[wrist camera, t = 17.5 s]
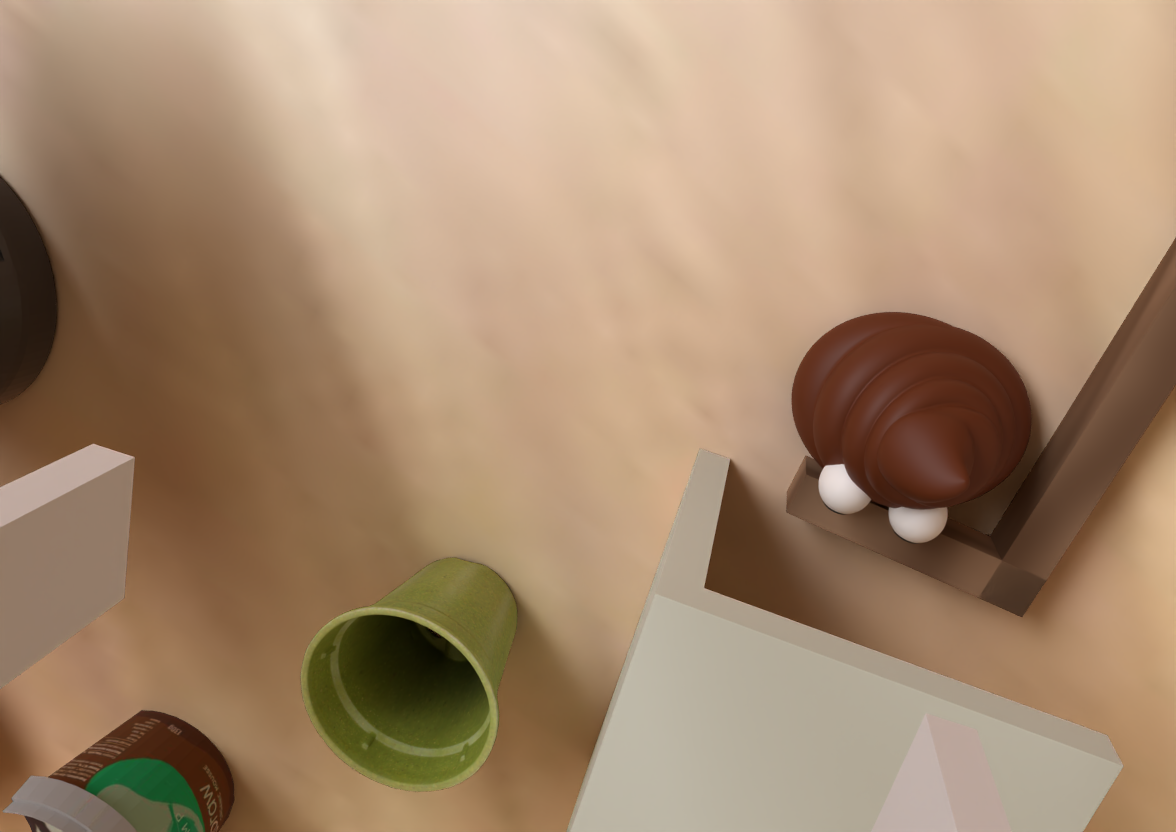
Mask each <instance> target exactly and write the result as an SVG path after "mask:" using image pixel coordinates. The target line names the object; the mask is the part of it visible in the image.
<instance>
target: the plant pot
mask: <svg viewBox="0 0 1176 832" xmlns="http://www.w3.org/2000/svg"><path fill="white" fill-rule="evenodd" d="M427 627H428V628H429V629H431V630H433V631H435V632H436V633H438V634H439V635H441V638H437V637H436V636H434V635H433V634H432V633H431V632H430V631H429V629H428V628H427ZM516 628H517V606H516V602H515V600H514V597H513V595H512V593H511V591H510V589H509V588H508V586H507V585H506V583H505V582H504V581H503V580H502V579H501V578H500V577H499V576H498V575H497V574H496V573H495V572H494V571H492V570H491V569H489V568H488V567H486V566H484V565H482V564H477V563H472V562H469V561H464V560H461V559H458V558H446V559H442V560H438V561H435V562H433V563H431V564H429V565H428V566H426V567H425V568H423V569H422V570H421V571H419V572H418V573H416V574H415V575H414V576H412V577H411V578H410V579H408V580H407V581H406V582H404V583H403V584H402V585H400V586H399V587H398V588H396V589H395V590H394V591H392V592H391V593H389V594H388V595H386V596H385V597H384V598H382V599H381V600H380V601H378V602H377V603H376V604H374V605H371V606H368V607H361V608H357V609H353V610H350V611H348V612H345V613H343V614H341V615H339V616H337V617H336V618H334V619H333V620H331V621H330V622H329V623H327V624H326V625H325V626H324V627H323V628H321V630H320V631H319V632H318V633H317V634H316V635H315V636H314V638H313V639H312V641H311V642H310V644H309V646H308V648H307V650H306V652H305V655H304V659H303V663H302V668H301V691H302V697H303V701H304V704H305V708H306V711H307V713H308V715H309V717H310V720H311V722H312V724H313V725H314V727H315V729H316V730H317V732H318V733H319V735H320V736H321V737H322V739H323V740H324V742H325V743H326V744H327V745H328V747H329V748H330V749H331V750H332V751H333V752H334V753H335V754H336V755H337V756H338V757H339V758H340V759H341V760H342V761H344V762H345V763H346V764H347V765H349V766H350V767H351V768H352V769H355V770H356V771H358V772H359V773H360V774H362V775H364V776H366V777H368V778H369V779H371V780H374V781H376V782H378V783H381V784H384V785H387V786H389V787H392V788H395V789H400V790H405V791H414V792H428V791H436V790H443V789H447V788H450V787H453V786H455V785H457V784H459V783H461V782H463V781H464V780H466V779H468V778H469V777H471V776H472V775H473V774H474V773H476V772H477V771H478V770H479V768H480V767H481V766H482V765H483V764H484V762H485V761H486V759H487V758H488V756H489V754H490V752H491V750H492V748H493V745H494V743H495V740H496V737H497V732H498V726H499V707H498V700H497V691H498V687H499V684H500V681H501V677H502V674H503V671H504V667H505V664H506V661H507V658H508V654H509V651H510V648H511V645H512V642H513V639H514V636H515V633H516Z"/></svg>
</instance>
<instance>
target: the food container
mask: <svg viewBox="0 0 1176 832" xmlns="http://www.w3.org/2000/svg"><path fill="white" fill-rule="evenodd" d="M11 799H12V801H13V802H12V803H11V804H10V805H9V806H8V807H7V808H6V809H4V810H3V812H5V813H14V814H20V815H24V816H25V818H26V820H27V821H28V823H29V825H30V827H31V830H32V832H218V831H219V829H220V828H221V827H222V825H223V824H224V822H225V821H226V819H227V818H228V816H229V814H230V811H231V808H232V805H233V802H234V783H233V779H232V775H231V772H230V770H229V767H228V765H227V763H226V761H225V760H224V758H223V756H222V754H221V753H220V752H219V750H218V749H217V748H216V746H215V745H214V744H213V743H212V742H211V741H210V740H209V739H208V738H207V737H206V736H205V735H204V734H202V733H201V732H200V731H199V730H197V729H196V728H195V727H193V726H191V725H190V724H188V723H187V722H185V721H183V720H181V719H179V718H177V717H174V716H171V715H168V714H165V713H161V712H156V711H143V710H141V711H140V712H139V713H137V714H136V715H134V716H133V717H132V718H130V719H129V720H127V721H126V722H125V723H123V724H122V725H120V726H119V727H118V728H116V729H115V730H113V731H112V732H111V733H109V734H108V735H106V736H105V737H104V738H102V739H101V740H99V741H98V742H97V743H95V744H94V745H92V746H91V747H90V748H88V749H87V750H85V751H84V752H82V753H81V754H80V755H78V756H77V757H75V758H74V759H73V760H71V761H70V762H68V763H67V764H66V765H64V766H63V767H61V768H60V769H59V770H57V771H56V772H54V773H53V774H52V775H50V776H49V777H41V776H30V777H29V779H28V780H27V781H26V782H25V783H24V784H23V785H22V787H21V788H20V789H19V790H18V791H17V792H16V793H15V794H14V796H13V797H12V798H11Z"/></svg>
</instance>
